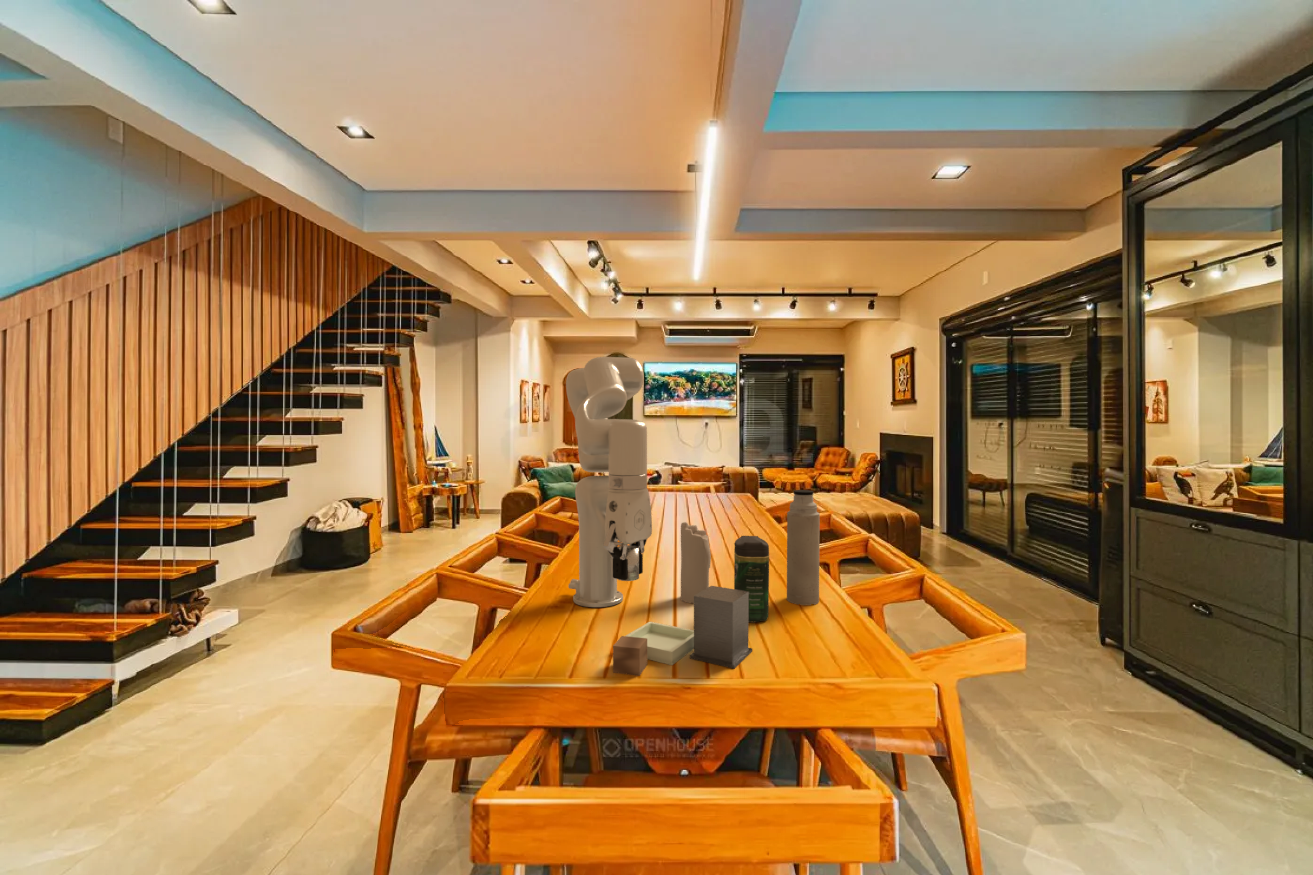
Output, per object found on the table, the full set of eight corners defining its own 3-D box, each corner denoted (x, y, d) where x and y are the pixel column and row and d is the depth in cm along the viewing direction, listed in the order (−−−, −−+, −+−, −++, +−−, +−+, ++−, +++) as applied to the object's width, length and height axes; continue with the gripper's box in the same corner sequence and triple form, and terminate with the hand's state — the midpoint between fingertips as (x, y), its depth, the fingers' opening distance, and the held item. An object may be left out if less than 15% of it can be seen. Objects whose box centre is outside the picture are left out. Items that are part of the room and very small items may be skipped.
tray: (618, 652, 114) (618, 639, 113) (649, 633, 124) (649, 621, 124) (672, 665, 108) (672, 651, 107) (700, 643, 118) (700, 631, 118)
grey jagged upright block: (732, 607, 141) (732, 525, 141) (677, 602, 145) (677, 522, 145) (736, 598, 148) (737, 520, 148) (684, 593, 152) (684, 518, 152)
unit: (689, 658, 111) (689, 596, 110) (709, 642, 119) (709, 584, 118) (734, 668, 106) (734, 603, 106) (752, 651, 114) (752, 591, 114)
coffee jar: (771, 623, 130) (772, 541, 129) (736, 623, 130) (736, 541, 129) (765, 609, 139) (765, 533, 139) (732, 609, 140) (732, 533, 139)
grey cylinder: (612, 578, 113) (612, 548, 113) (625, 573, 117) (625, 544, 116) (630, 582, 111) (630, 551, 110) (643, 577, 114) (643, 546, 114)
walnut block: (613, 673, 104) (613, 645, 104) (622, 662, 109) (621, 635, 109) (639, 676, 103) (639, 648, 103) (647, 664, 108) (647, 638, 108)
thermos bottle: (792, 593, 152) (793, 487, 151) (823, 598, 148) (823, 489, 147) (782, 601, 145) (782, 491, 145) (813, 607, 141) (814, 493, 140)
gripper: (617, 488, 104) (617, 589, 105) (666, 480, 118) (666, 569, 119) (585, 486, 108) (585, 583, 109) (636, 478, 122) (636, 564, 123)
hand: (627, 574), depth 114 cm, fingers closed on grey cylinder, 4 cm apart
